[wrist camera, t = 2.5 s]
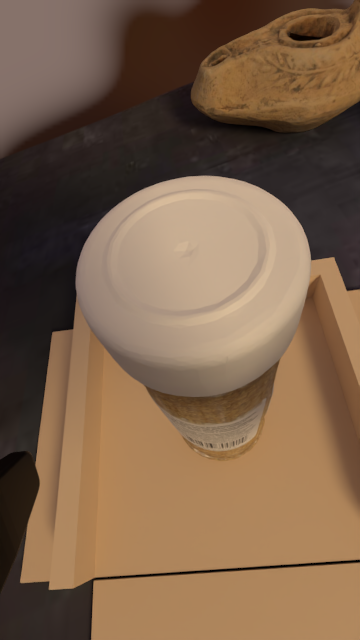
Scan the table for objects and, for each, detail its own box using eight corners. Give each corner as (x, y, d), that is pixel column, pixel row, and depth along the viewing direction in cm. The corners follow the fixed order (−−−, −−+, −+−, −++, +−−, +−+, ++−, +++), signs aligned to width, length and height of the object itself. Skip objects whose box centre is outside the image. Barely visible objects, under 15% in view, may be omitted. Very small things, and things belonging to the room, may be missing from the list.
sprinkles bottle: (272, 390, 18) (337, 179, 6) (250, 477, 16) (284, 404, 5) (193, 365, 19) (128, 155, 8) (163, 444, 18) (20, 321, 6)
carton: (579, 778, 11) (664, 845, 9) (-2, 783, 13) (-51, 840, 11) (365, 277, 21) (380, 250, 19) (56, 321, 23) (37, 301, 20)
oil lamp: (180, 118, 32) (164, 10, 25) (321, 64, 33) (344, -54, 26) (231, 186, 26) (229, 73, 20) (399, 119, 27) (454, -13, 20)
